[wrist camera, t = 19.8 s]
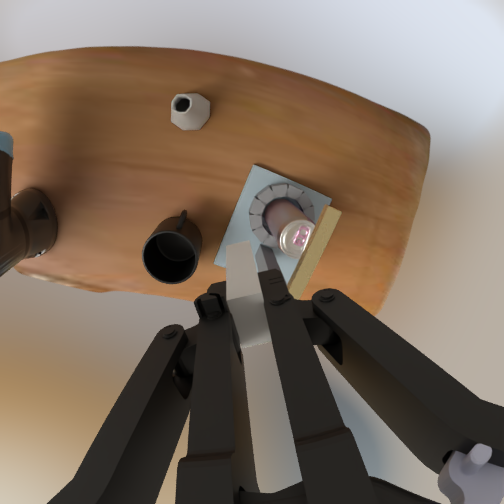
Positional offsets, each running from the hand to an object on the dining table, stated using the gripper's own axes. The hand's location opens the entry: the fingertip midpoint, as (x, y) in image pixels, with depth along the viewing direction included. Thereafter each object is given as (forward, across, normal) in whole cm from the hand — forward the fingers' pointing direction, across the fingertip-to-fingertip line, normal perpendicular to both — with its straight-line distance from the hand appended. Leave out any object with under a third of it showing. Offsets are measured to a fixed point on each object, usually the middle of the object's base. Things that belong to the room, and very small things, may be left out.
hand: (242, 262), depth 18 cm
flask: (+35, -4, +15) cm, 38 cm away
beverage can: (+34, +7, -7) cm, 35 cm away
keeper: (+14, +6, -8) cm, 17 cm away
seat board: (+34, +5, -10) cm, 36 cm away
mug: (+35, -12, -6) cm, 37 cm away
